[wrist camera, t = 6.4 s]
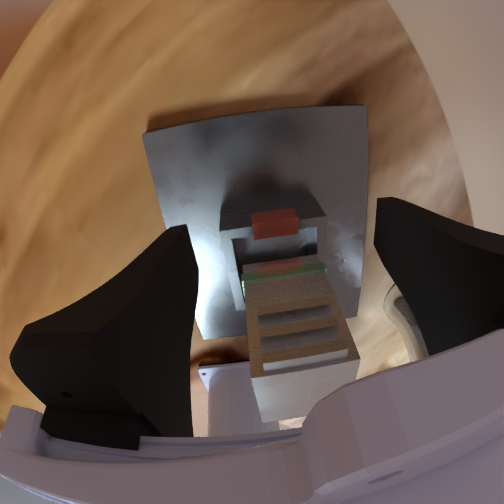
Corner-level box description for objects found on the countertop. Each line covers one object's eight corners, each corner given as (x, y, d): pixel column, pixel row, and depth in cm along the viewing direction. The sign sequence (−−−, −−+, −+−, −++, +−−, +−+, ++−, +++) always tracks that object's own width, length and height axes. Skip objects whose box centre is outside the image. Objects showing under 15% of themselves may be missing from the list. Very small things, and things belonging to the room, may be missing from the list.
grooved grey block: (318, 309, 18) (349, 407, 12) (251, 319, 18) (260, 423, 12) (319, 244, 15) (365, 348, 10) (238, 255, 16) (245, 369, 10)
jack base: (353, 308, 27) (371, 350, 22) (204, 331, 27) (201, 377, 23) (360, 104, 17) (399, 115, 13) (146, 131, 17) (118, 150, 13)
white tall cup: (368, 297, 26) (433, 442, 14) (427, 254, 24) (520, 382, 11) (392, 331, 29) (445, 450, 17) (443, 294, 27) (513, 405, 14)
